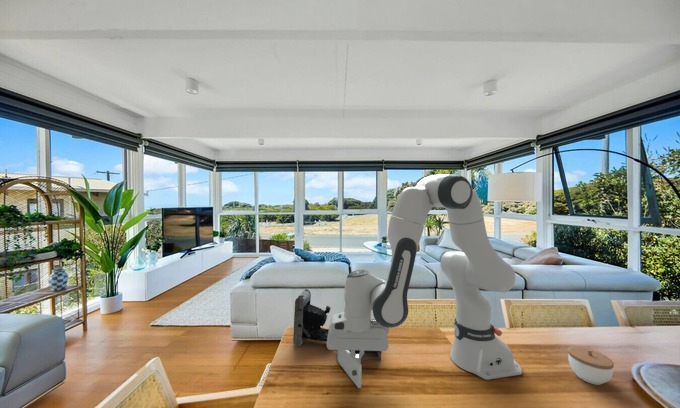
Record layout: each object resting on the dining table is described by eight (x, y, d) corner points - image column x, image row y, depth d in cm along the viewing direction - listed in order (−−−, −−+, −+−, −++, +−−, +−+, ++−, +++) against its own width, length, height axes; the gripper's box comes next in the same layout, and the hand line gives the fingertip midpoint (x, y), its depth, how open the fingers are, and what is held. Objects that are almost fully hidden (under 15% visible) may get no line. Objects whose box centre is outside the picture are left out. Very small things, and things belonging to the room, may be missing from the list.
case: (375, 339, 103) (376, 319, 102) (381, 360, 90) (381, 336, 89) (337, 339, 102) (337, 318, 102) (337, 359, 89) (337, 336, 89)
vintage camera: (330, 353, 94) (333, 301, 94) (291, 346, 97) (294, 295, 97) (335, 339, 103) (338, 292, 103) (300, 333, 106) (303, 287, 106)
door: (361, 387, 76) (361, 364, 76) (355, 390, 75) (356, 366, 75) (339, 359, 89) (339, 339, 89) (334, 361, 88) (334, 340, 88)
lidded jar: (558, 366, 88) (559, 340, 88) (589, 367, 87) (590, 341, 87) (587, 390, 77) (589, 360, 77) (623, 391, 77) (624, 361, 77)
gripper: (387, 316, 84) (387, 356, 85) (327, 315, 85) (327, 354, 85) (390, 325, 78) (390, 368, 78) (326, 324, 78) (326, 367, 79)
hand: (357, 361), depth 82 cm, fingers closed
